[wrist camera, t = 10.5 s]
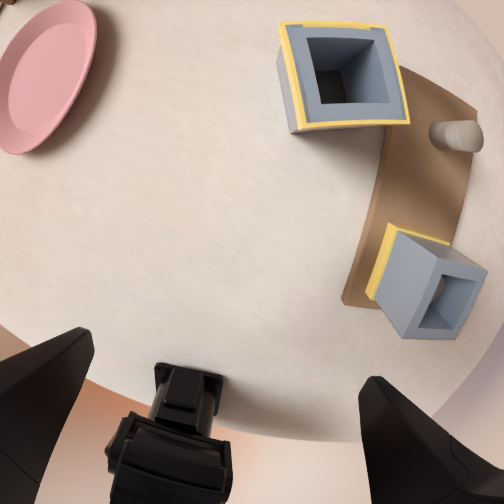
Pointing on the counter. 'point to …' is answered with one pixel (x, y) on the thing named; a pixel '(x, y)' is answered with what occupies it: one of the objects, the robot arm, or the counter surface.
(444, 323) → the sleeve band down
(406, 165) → the pin board
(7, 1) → the wooden block
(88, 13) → the plate
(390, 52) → the sleeve band up
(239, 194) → the counter surface
